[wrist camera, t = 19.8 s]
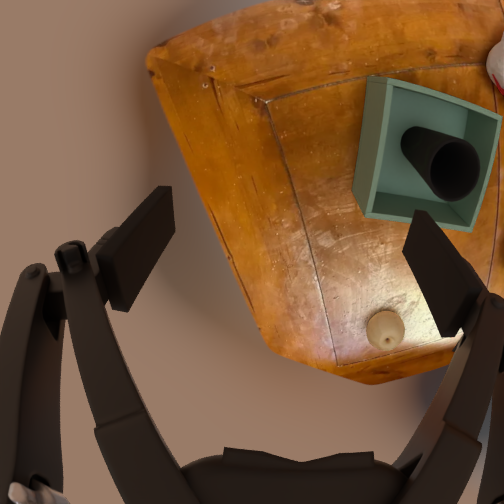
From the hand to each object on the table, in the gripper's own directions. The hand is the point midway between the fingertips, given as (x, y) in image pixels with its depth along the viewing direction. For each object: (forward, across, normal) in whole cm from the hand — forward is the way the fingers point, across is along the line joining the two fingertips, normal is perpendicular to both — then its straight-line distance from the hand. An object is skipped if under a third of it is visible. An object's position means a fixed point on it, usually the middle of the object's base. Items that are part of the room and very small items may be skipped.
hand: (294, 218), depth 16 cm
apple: (+29, +23, -35) cm, 51 cm away
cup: (+28, +19, 0) cm, 34 cm away
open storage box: (+29, +19, 0) cm, 34 cm away
